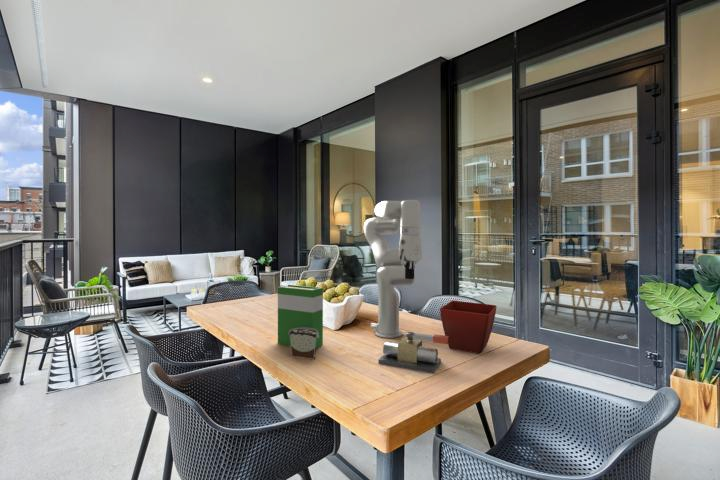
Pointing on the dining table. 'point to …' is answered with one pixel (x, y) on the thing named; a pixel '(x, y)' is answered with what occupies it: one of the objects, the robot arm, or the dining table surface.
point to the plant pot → (468, 325)
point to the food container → (303, 342)
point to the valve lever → (428, 337)
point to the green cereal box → (299, 311)
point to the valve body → (410, 355)
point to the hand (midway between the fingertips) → (409, 278)
